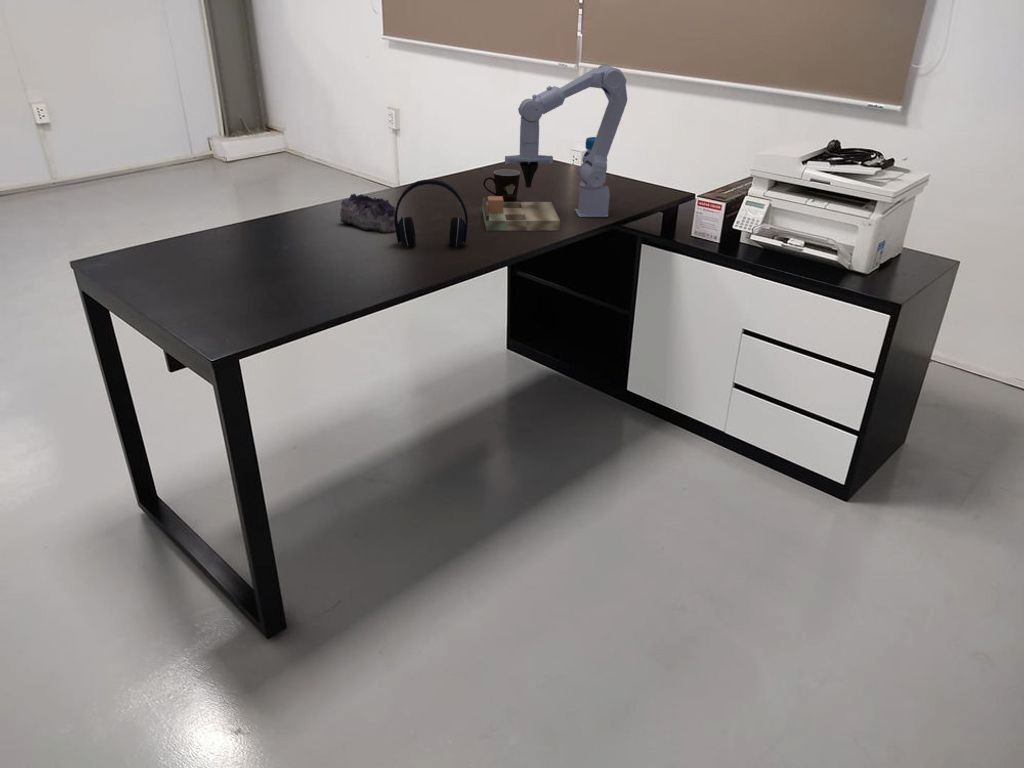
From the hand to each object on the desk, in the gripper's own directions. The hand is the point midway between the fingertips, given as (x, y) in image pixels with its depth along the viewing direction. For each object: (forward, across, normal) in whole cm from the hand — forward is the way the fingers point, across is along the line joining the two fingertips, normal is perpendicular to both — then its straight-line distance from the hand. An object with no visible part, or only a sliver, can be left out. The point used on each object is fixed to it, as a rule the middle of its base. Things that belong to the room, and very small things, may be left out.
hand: (528, 186), depth 238 cm
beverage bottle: (+10, -24, -19) cm, 32 cm away
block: (+6, +10, +5) cm, 13 cm away
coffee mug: (+9, +7, -15) cm, 19 cm away
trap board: (+9, +3, +5) cm, 11 cm away
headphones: (+9, +30, +27) cm, 42 cm away
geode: (+9, +48, +8) cm, 49 cm away
